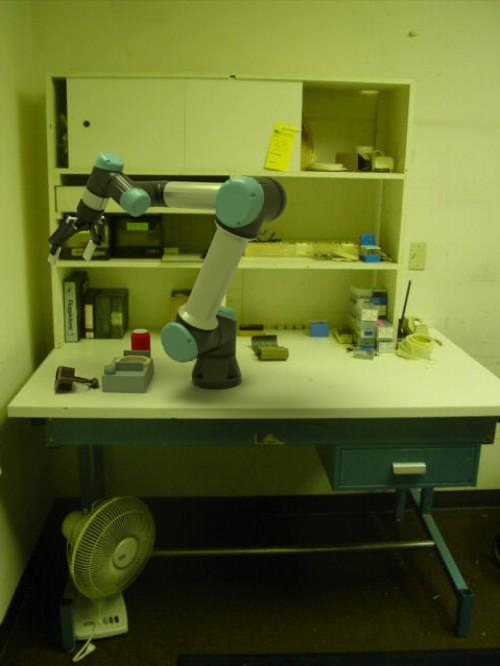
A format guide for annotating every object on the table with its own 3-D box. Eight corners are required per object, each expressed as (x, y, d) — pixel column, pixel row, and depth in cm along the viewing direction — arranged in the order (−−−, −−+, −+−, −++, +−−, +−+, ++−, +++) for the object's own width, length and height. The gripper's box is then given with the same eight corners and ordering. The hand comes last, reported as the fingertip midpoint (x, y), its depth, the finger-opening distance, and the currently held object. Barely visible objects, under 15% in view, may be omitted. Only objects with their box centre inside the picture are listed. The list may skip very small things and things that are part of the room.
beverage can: (146, 362, 203) (145, 327, 200) (154, 367, 198) (153, 331, 195) (129, 365, 200) (127, 329, 196) (136, 370, 195) (135, 334, 191)
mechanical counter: (57, 364, 183) (45, 367, 173) (100, 361, 182) (89, 364, 172) (59, 388, 183) (47, 392, 173) (101, 385, 183) (92, 390, 173)
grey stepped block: (153, 373, 192) (153, 350, 190) (144, 392, 176) (143, 367, 174) (115, 372, 192) (114, 349, 190) (102, 391, 176) (101, 367, 174)
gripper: (116, 196, 191) (92, 250, 201) (50, 195, 170) (27, 256, 181) (131, 210, 188) (106, 264, 199) (66, 211, 168) (42, 272, 178)
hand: (68, 261), depth 190 cm, fingers open, 13 cm apart
